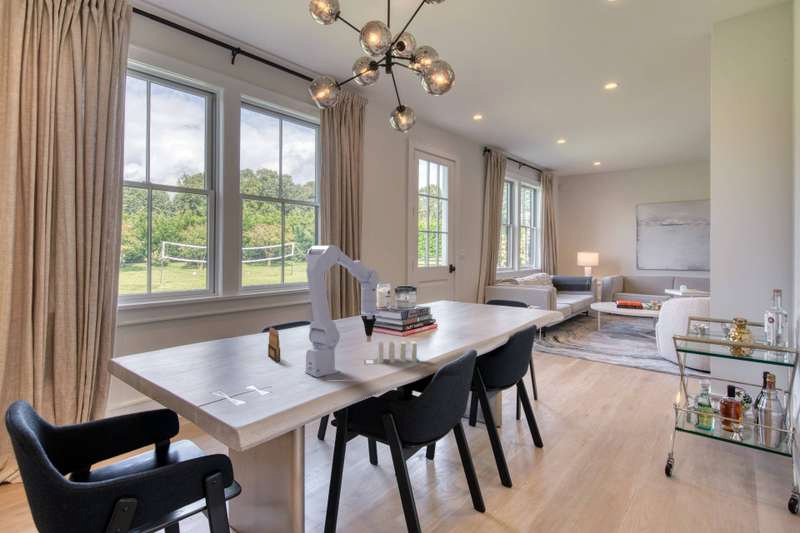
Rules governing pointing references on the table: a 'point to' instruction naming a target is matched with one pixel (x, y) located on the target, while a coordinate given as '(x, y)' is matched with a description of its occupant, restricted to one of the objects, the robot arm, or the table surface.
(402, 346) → the domino
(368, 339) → the domino placed
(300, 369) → the table surface
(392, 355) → the domino
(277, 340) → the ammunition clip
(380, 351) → the domino
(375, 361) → the mat
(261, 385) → the table surface
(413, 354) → the domino
